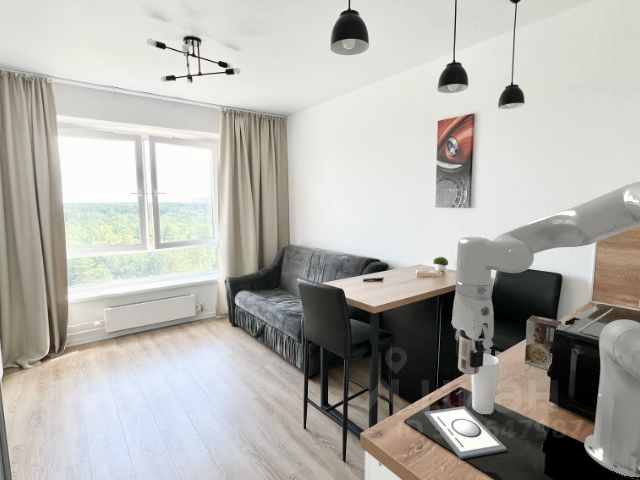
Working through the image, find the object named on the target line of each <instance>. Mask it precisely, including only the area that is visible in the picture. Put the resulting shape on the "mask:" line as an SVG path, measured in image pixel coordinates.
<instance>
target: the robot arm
mask: <svg viewBox="0 0 640 480" xmlns="http://www.w3.org/2000/svg"><path fill="white" fill-rule="evenodd" d="M636 227H640V181H636V182H632V183H629V184H626V185H624V186H622V187H619V188H617V189H614V190H612V191H610V192H607V193H605V194H603V195H600V196H597V197H594V198H593V199H590V200H588V201H586V202H582V203H581V204H579V205H578V204H577V205H576V206H574V207H571V208H568V209H566V210H563V211H560V212H556V213H554V214H551V215H549V216H546V217H543V218H541V219H537V220H534V221H531V222H528V223H526V224H524V225H521V226H518V227H516V228H514V229H512V230H508V231H506V232H504V233H502V234H500V235H498V236H496V237H495V238H494V239H492V240H490V239H488V238H486V237H479V236H470V237H469V236H468V237H466V236H465V237H462V238H460V239H459V240H458V242H457V252H456V253H457V255H456V257H457V258H456V277H455V294H454V299H453V306H452V315H451V316H452V317H451V319H452V320H451V322H450V323H451V325H452V327H453V332H454V333H455V336H454V338H455V340H456V341H455V342H456V343H455V344H456V345H455V355H456V357H458V358H459V337H460V330H461V328H463V329H464V330H465V333H466V336H468V337H469V338H471V343H472V351H470V367H472V368H474V367H482V366H483V355H484V354H485V352H486V351H487V350H488V349H489V348H492V347H493V346H494V342H493V341H492V340H493V338H494V329H495V328H494V326H495V325H494V323H495V321H494V320H495V319H494V306H493V302H492V301H493V300H492V298H491V281H492V280H491V279H492V271H498V272H504V273H507V274H508V273H510V274H518V273H519V274H520V273H522V272H525V271H527V270H528V269H530V267H532V265H533V263H534V260H535V254H537V253H541V252H543V251H547V250H551V249H553V250H554V249H558V248H576V247H585V246H589V245H593V244H594V243H595V244H596V243H597V242H600V241H602V240H606V239H608V238H611V237H613V236H616V235H618V234H622V233H623V232H626V231H629V230H631V229H635V228H636ZM638 307H639V309H640V300H639V301H638ZM479 336H480V338H479ZM598 340H599V341H598V348H599V358H600V359H599V360H600V361H599V362H600V368H599V369H600V370H599V373H600V374H599V384H598V393H597V403H596V411H595V419H594V420H595V422H594V429H593V430H594V431H593V434H590V435H588V436H586V437H585V439H584V448H585V451H586V453H587V454H588V455H589V456H590V457H591V458H592V459H593V460H594V461H595V462H597V463H598V464H599V465H601V466H603V467H604V468H606V469H608V470H609V471H612V472H613V471H614V472H613V473H615V472H616V474H618V473H619V474H618V475H620V474H621V476H623V475H624V476H623V477H626V476H629V477H637V478H638V477H640V322H638V321H635V320H631V319H625V318H624V319H616V320H614V321H611V322H609V323H608V324H606V325H605V326H604V327H603V328H602V329H601V331H600V335H599V338H598ZM476 341H480V344H479V345H477V343H476ZM629 477H628V478H629Z"/></svg>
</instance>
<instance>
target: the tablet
mask: <svg viewBox="0 0 640 480" xmlns="http://www.w3.org/2000/svg"><path fill="white" fill-rule="evenodd" d="M423 414H424V415H425V417H426V418H427V419H428V421H429V422H430V423H431V424H432V425H433V427H434V426H435V427H434V428H435V429H436V431H437V432H438V431H439V432H440V433H439V432H438V433H439V434H440V435H441V437H442V438H443V439H444V440H445V442H446V443H447V444H448V446H449V447H450V448H451V449H452V451H453V452H454V453H455V454H456V455H457V457H458V458H459V459H460V460H463V459H469V458H474V457H478V456H479V457H480V456H485V455H486V456H487V455H491V454H496V453H497V454H498V453H501V452H507V451H508V449H507V447H506V446H505V445H504V444H503V443H502V442H501V441H500V440H499V439H498V437H496V436H495V435H494V434H493V433H492V432H491V431H490V430H489V429H488V428H487V427H486V426H485V425H484V424H482V422H481V421H480V420H479V419H478V418H477V417H476V416H475V415H473V414H472V412H470V410H469V409H468V408H466V406H464V405H462V406H458V407H450V408H443V409H436V410H430V411H424V412H423Z"/></svg>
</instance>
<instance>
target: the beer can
mask: <svg viewBox="0 0 640 480" xmlns="http://www.w3.org/2000/svg"><path fill="white" fill-rule="evenodd" d="M479 338H480V336H479ZM476 343H477V345H479V344H480V341H476ZM470 351H472V343H471V338H469V337H468V336H466V333H465V330H464V329H463V328H461V330H460V337H459V357H458V361H457V362H458V363H457V365H458V366H457V368H458V370H459V372H462V374H463V373H464V374H466V375H468V376H469V375H470V376H471V375H474V374H477V373H478V372H479V367H474V368H472V367H470Z"/></svg>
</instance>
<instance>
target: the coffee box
mask: <svg viewBox="0 0 640 480" xmlns="http://www.w3.org/2000/svg"><path fill="white" fill-rule="evenodd" d="M559 326H561V327H562V321H561V320H557V319H552V318H548V317H542V316H538V315H534V314H533V315H531V316H530V317H529V318H528V319H527V320H526V331H525V332H526V334H525V335H526V336H525V337H526V338H525V351H524V352H525V353H524V354H525V355H524V364H526V365H530V366H532V367H536V368H538V369H539V368H540V369H543V370H546V371H548V370H547V369H548V366H549V365H550V363H551V358H552V355H551V353H550V352H549V347H550V344H551V342H552V340H553V333H554V330H555V329H556V328H558V327H559Z"/></svg>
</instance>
